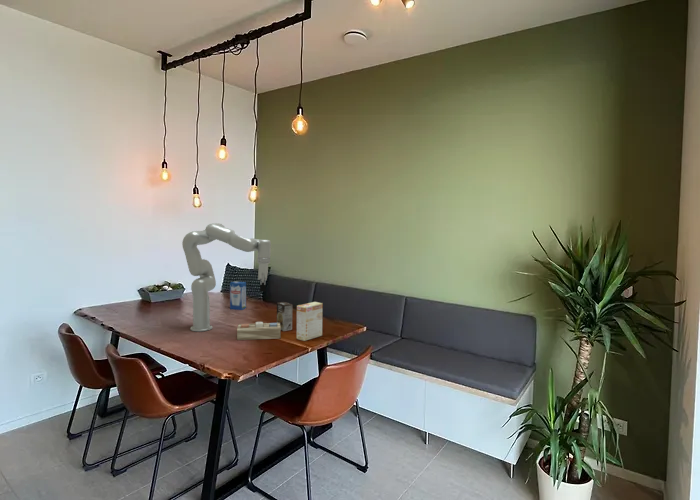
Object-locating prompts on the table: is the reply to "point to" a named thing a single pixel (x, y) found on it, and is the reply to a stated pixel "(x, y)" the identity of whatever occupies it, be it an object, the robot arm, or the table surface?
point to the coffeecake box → (309, 321)
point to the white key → (259, 324)
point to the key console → (258, 332)
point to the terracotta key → (245, 326)
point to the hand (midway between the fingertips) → (262, 291)
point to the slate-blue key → (273, 324)
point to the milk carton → (238, 295)
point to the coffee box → (284, 315)
